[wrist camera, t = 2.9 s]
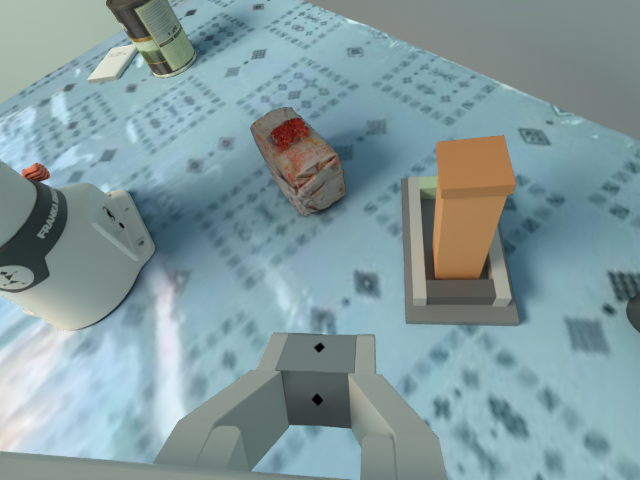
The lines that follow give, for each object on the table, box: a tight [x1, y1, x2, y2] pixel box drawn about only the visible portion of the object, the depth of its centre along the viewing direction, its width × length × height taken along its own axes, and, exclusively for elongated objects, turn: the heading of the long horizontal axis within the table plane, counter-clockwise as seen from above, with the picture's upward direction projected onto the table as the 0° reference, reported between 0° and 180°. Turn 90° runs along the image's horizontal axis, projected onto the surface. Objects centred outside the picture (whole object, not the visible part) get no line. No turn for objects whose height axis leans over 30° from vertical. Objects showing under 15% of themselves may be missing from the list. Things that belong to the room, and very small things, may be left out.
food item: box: [250, 107, 346, 217], centre depth 44 cm, size 14×8×10 cm, turn 33°
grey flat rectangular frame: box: [401, 176, 520, 326], centre depth 37 cm, size 18×10×3 cm, turn 175°
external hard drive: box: [87, 45, 138, 84], centre depth 81 cm, size 2×8×12 cm
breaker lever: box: [432, 135, 516, 280], centre depth 30 cm, size 4×4×15 cm
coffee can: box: [106, 0, 197, 78], centre depth 69 cm, size 10×10×14 cm
